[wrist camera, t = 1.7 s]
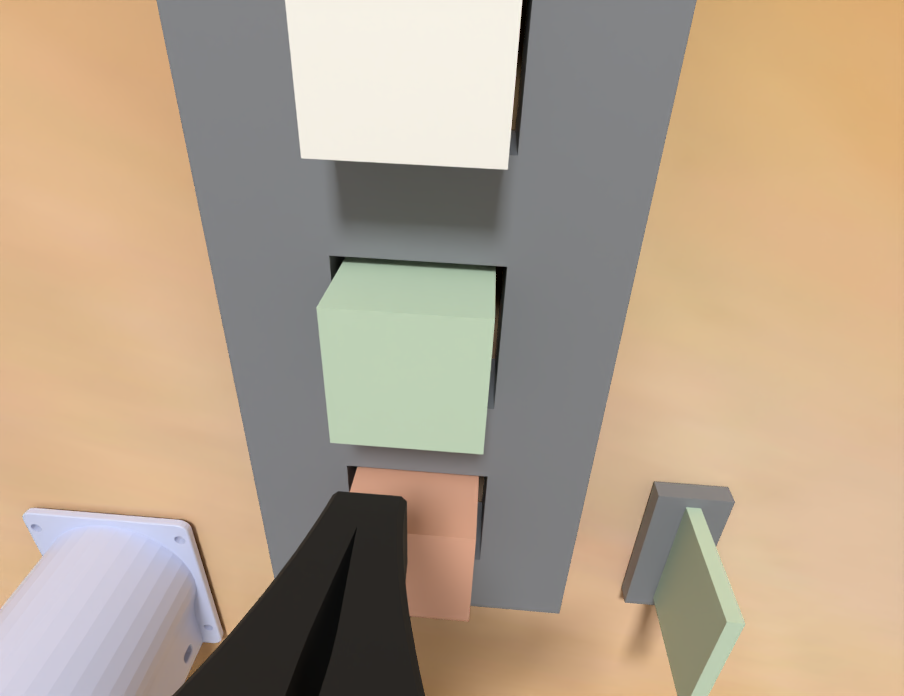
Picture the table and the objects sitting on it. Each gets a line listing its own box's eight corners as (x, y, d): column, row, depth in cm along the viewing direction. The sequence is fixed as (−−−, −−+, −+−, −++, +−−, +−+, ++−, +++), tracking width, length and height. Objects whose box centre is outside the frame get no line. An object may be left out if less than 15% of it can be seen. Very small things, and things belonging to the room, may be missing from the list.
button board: (553, 553, 27) (558, 613, 24) (297, 532, 27) (276, 588, 25) (705, -217, 13) (756, -267, 10) (175, -231, 13) (99, -283, 11)
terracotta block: (473, 532, 24) (469, 621, 21) (368, 523, 24) (347, 610, 21) (479, 453, 22) (475, 539, 18) (364, 444, 22) (338, 527, 18)
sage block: (486, 374, 20) (483, 454, 16) (359, 365, 20) (330, 443, 17) (496, 254, 17) (494, 319, 14) (352, 245, 18) (316, 307, 14)
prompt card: (685, 592, 27) (725, 725, 22) (621, 587, 27) (647, 717, 23) (728, 487, 24) (787, 617, 19) (654, 481, 24) (694, 610, 19)
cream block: (506, 129, 15) (507, 169, 12) (344, 121, 16) (300, 158, 12) (523, -73, 13) (530, -94, 10) (332, -80, 13) (274, -103, 10)
